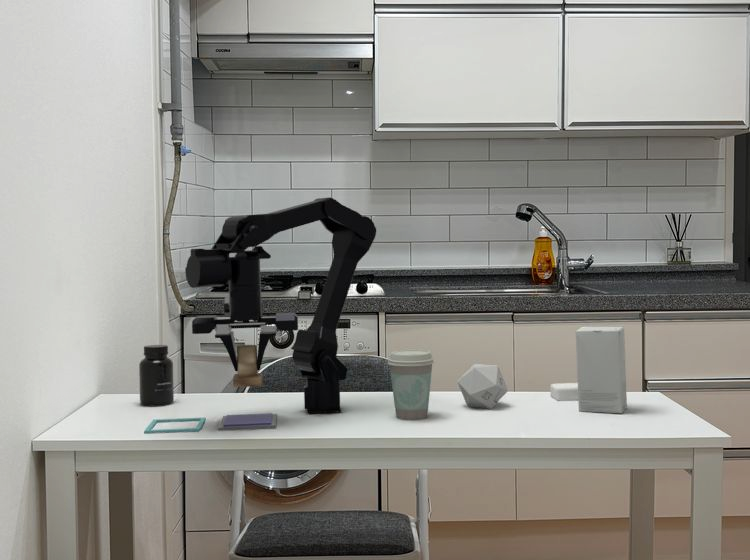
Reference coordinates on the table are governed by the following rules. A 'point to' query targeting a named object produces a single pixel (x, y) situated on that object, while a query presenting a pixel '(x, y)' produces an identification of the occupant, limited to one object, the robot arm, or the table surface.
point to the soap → (564, 391)
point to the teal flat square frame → (198, 428)
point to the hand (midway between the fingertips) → (247, 370)
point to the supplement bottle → (156, 376)
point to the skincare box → (601, 369)
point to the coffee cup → (411, 382)
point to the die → (482, 386)
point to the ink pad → (248, 421)
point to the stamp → (247, 367)
